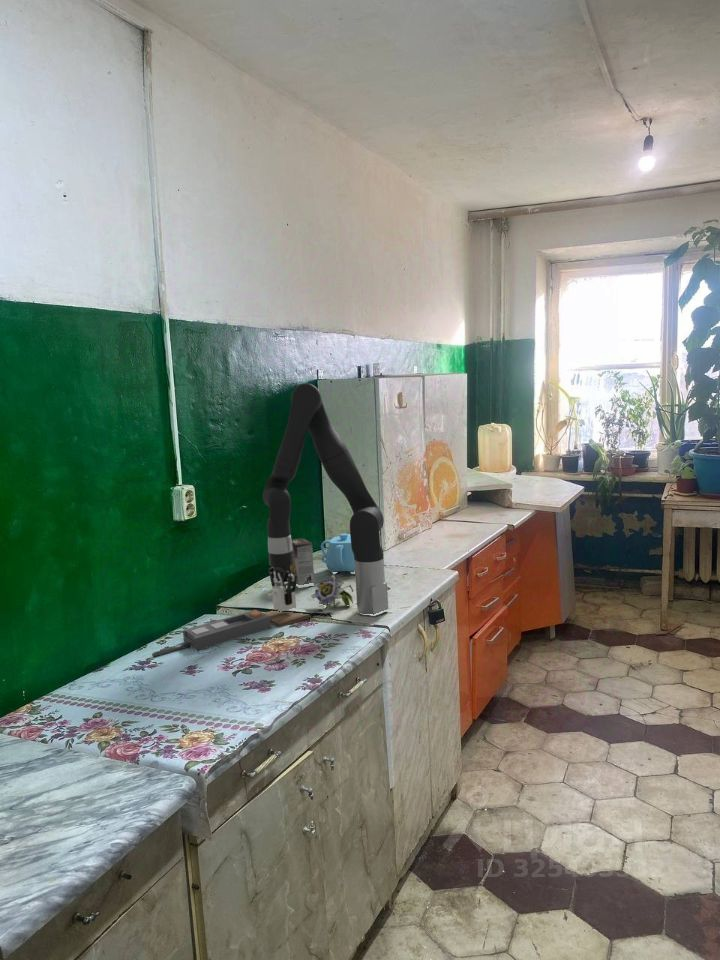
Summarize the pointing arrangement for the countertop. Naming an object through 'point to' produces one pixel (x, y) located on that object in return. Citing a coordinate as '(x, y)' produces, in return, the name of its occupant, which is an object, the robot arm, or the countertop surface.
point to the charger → (281, 599)
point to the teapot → (339, 554)
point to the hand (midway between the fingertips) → (284, 602)
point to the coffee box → (302, 561)
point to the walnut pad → (285, 617)
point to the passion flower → (332, 592)
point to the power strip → (222, 630)
